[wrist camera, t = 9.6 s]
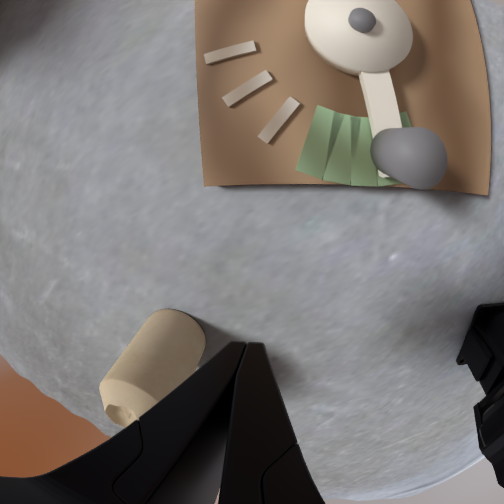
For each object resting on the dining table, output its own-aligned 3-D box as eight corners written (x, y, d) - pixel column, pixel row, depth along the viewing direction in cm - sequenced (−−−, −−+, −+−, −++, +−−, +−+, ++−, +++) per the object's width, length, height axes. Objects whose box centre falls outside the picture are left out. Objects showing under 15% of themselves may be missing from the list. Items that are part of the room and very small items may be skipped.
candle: (206, 314, 22) (156, 412, 13) (207, 363, 25) (170, 454, 16) (144, 302, 23) (78, 383, 14) (152, 350, 25) (102, 429, 16)
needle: (292, -3, 12) (288, -49, 7) (385, -8, 10) (411, -48, 6) (340, 179, 16) (358, 198, 11) (432, 167, 14) (478, 183, 10)
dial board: (449, -35, 8) (456, -42, 7) (479, 191, 15) (490, 196, 14) (200, -52, 11) (194, -61, 10) (209, 183, 18) (202, 187, 17)
